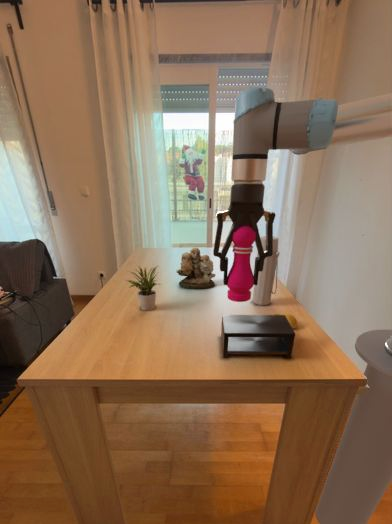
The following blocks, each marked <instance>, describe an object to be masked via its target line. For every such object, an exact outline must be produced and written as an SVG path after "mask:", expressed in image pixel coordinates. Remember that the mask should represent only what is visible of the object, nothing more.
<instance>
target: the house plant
mask: <svg viewBox="0 0 392 524" xmlns="http://www.w3.org/2000/svg"><path fill="white" fill-rule="evenodd" d="M158 267H159V265H157V266H154V267H151V268H150V269H149V271H148V273H147V268H146V267H144V269H142V267H141V266H140V265H138V269H139V270H138V269H135V271H136V272H137V273H138V274H139V275H138V274H137V273H135V272H133V271H130V270H127V272H128V273H129V275H132V276H134V278H135V279H136V280H137V281H135V280H132V279H124V281H125V282H127V283H129V284H131V285H129V286H128V290H129V289H131V288H134V287H136V289H138V290H139V291H137V293H136V294H137V297H138V301H139V305H140V308H141V310H142V311H152V310H154V309H155V307H156V297H157V292H156V290H154V289H153V288H154V286H156V285H158V283H157V280H156V279H155V278H156V277H157V276H158V273H159V271H157V270H158V269H157V268H158ZM159 285H161V286H162V284H161V283H159Z"/></svg>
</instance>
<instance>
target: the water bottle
mask: <svg viewBox="0 0 392 524" xmlns="http://www.w3.org/2000/svg"><path fill="white" fill-rule="evenodd" d="M260 239H261V243H262V246H263V250H264V251H266V235H264V236H260ZM256 254H257V255H256V257H259V255H258V252H257V253H256ZM280 255H281V253H280V251H279V237H277V236H273V255H272V256H269V257H266V258H265V259H264V266H263V271H259V274H258V284H257V285H253V292H252V302H253V303H254V304H255V305H257V306H267V305H269V304H270V303H271V301H272V295H275V294H276V292H277V288H278V269H279V268H278V265H279V258H280V257H279V256H280ZM274 283H275V289H274ZM273 290H274V292H273Z"/></svg>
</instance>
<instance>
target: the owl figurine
mask: <svg viewBox="0 0 392 524" xmlns="http://www.w3.org/2000/svg"><path fill="white" fill-rule="evenodd" d="M213 271H214V262H213V260H212V259H210V256H209V255H208V254H204V255H201V249H200V248H198V247H192V248H191V249H190V250H189V252H184V253H181V261H180V268H179V269H176V274H178V276H180V277H184V278H182V279H181V280H180V281H178V286H179V287H180V288H182V289H188V290H189V289H191V290H206V289H211V288H212V287H215V285H216V284H215V281H214V280H213V279H212V278H215V277H216V273H213Z"/></svg>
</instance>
